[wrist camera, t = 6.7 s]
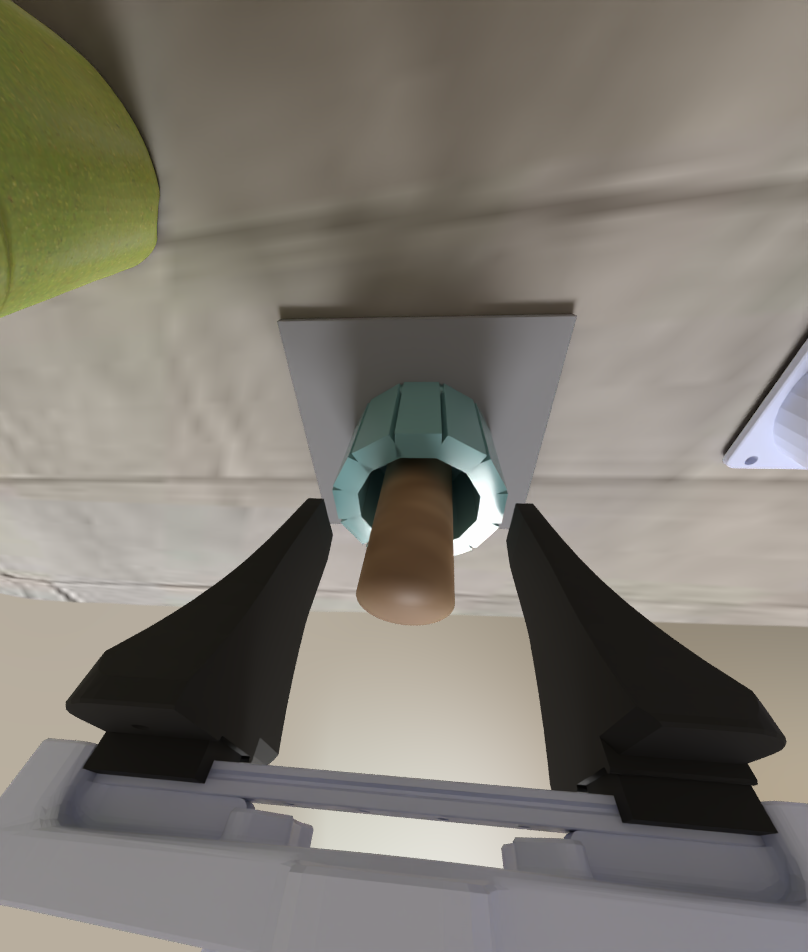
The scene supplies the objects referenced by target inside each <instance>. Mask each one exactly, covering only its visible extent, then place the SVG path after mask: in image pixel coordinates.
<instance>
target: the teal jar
mask: <svg viewBox="0 0 808 952" xmlns="http://www.w3.org/2000/svg"><path fill="white" fill-rule="evenodd" d="M399 458H437V459H439V460H441V461H443V462H445V463H447V464H449V465H451V466H452V502H453V548H454V556H455V555H459V554H462V553H465V552H468V551H471V550H472V547H474V548H477V547H478V546H479V545H480V544H481V543H482V542H483V541H484V540H485V539H487V538H488V537H489V536H490V535H491V534H492V533H493V532H494V531H495V530H496V529H498V528H499V524H501V523H502V518H503V514H504V510H505V505H506V501H507V496H508V492H507V487H506V483H505V480H504V477H503V473H502V470H501V466H500V463H499V459H498V456H497V453H496V449H495V446H494V442H493V439H492V435H491V432H490V429H489V427H488V425H487V423H486V421H485V419H484V417H483V415H482V413H481V411H480V409H479V407H478V405H477V403H475V404H474V401H473V399H471V398H469V397H467V396H466V395H464V394H462V393H460V392H459V391H457V390H455V389H453V388H452V387H450V386H448V385H446V384H445V383H444V384H443V385H441V384H439V382H404V384H402V385H400V383H399V384H397V385H395V386H394V387H392V388H390V389H389V390H387V391H385V392H383V393H382V394H380V395H378V396H376V397H375V398H373V399H371V401H370V403H368V404H367V406H366V408H365V410H364V412H363V414H362V416H361V418H360V420H359V422H358V424H357V426H356V428H355V430H354V432H353V435H352V438H351V440H350V443H349V445H348V448H347V451H346V453H345V456H344V458H343V461H342V463H341V466H340V469H339V471H338V474H337V476H336V479H335V482H334V484H333V489H332V492H333V496H334V501H335V505H336V510H337V514H338V519H341V523H342V524H343V525H344V526H345V527H346V528H347V529H348V530H349V531H350V532H351V533H352V534H353V535H354V536H355V537H356V538H357V539H358V540H359V541H360V542H361V543H362V544H364V543H367V545H368V541H369V537H370V533H371V529H372V525H373V521H374V517H375V513H376V508H377V504H378V500H379V496H380V492H381V488H382V484H383V480H384V475H385V471H386V467H387V464H388V463H390V462H392V461H394V460H397V459H399ZM367 545H366V547H367Z"/></svg>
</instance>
